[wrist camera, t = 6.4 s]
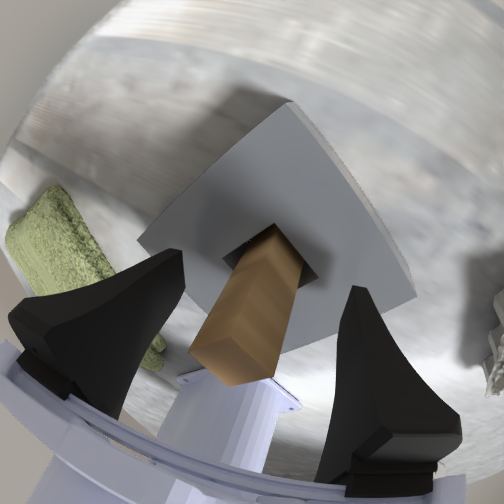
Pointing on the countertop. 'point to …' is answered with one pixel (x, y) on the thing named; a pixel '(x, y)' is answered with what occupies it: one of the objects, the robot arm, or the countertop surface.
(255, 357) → the oak peg
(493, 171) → the countertop surface
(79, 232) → the washcloth
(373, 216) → the charcoal socket block
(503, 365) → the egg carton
